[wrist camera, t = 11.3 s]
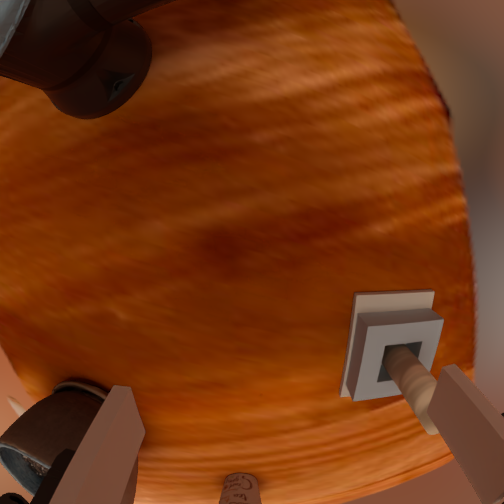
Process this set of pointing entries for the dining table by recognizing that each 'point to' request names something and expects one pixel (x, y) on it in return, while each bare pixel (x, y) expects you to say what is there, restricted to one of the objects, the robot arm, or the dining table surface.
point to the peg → (411, 381)
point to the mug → (240, 490)
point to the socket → (387, 338)
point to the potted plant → (53, 434)
